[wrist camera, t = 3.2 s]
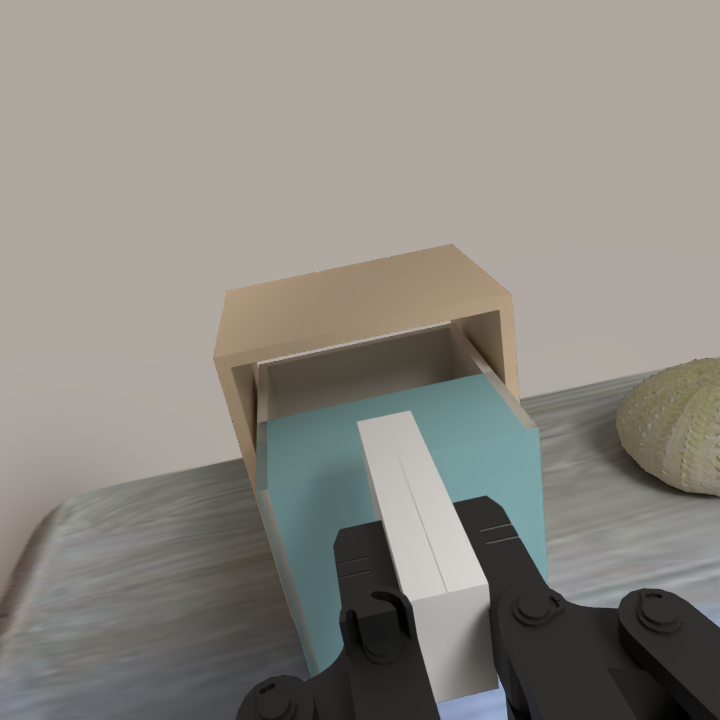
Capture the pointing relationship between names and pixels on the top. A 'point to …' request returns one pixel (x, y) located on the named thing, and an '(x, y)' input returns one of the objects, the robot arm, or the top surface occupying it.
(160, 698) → the top surface
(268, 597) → the top surface
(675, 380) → the sea urchin shell
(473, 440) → the drawer box
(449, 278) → the sleeve
